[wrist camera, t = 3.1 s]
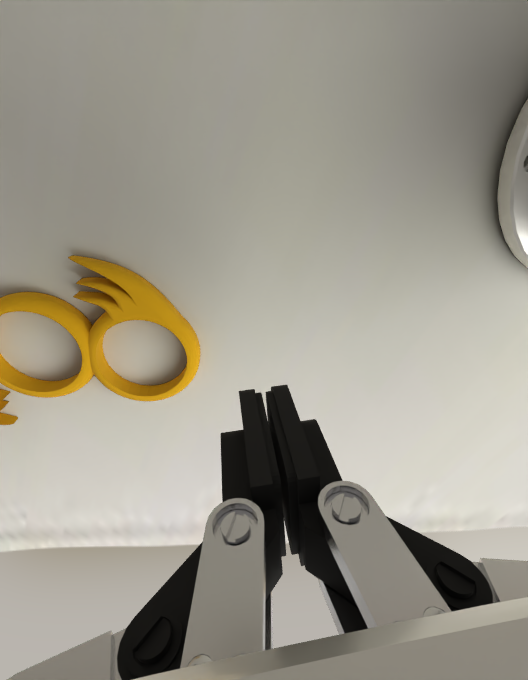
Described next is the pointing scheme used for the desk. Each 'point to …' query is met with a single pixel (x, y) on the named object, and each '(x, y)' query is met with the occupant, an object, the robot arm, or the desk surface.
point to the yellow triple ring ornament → (101, 334)
